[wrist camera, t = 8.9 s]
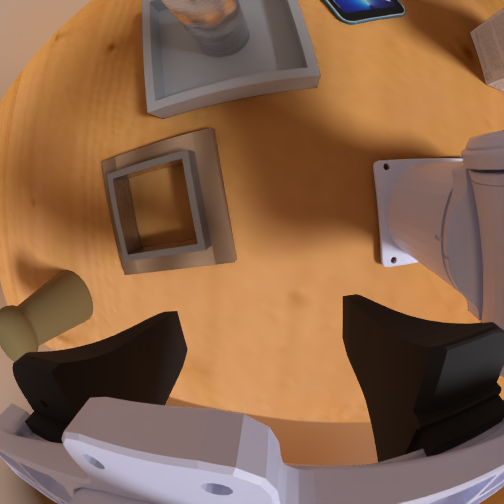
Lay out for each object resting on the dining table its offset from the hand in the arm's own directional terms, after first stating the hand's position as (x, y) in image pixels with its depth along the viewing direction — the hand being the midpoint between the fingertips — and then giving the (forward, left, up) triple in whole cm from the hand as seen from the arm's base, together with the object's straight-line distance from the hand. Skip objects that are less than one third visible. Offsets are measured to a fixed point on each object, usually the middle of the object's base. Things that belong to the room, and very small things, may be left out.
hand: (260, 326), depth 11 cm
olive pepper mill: (+22, +1, -10) cm, 24 cm away
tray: (+1, -18, -10) cm, 21 cm away
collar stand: (+8, -6, -10) cm, 14 cm away
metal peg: (+1, -18, -9) cm, 20 cm away
